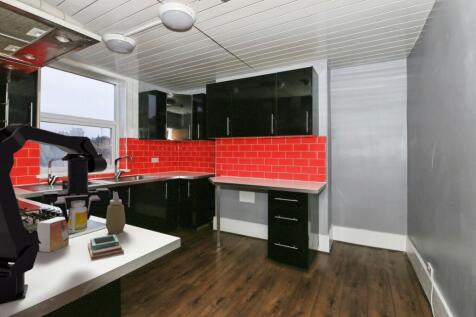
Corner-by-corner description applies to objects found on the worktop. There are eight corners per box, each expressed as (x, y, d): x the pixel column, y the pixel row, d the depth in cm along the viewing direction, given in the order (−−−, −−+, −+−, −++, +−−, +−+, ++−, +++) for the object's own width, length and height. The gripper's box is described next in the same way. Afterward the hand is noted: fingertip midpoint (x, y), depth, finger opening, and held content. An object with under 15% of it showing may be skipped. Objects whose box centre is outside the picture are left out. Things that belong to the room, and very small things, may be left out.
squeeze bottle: (124, 233, 106) (125, 193, 106) (104, 235, 103) (104, 194, 103) (126, 228, 114) (126, 190, 113) (106, 230, 111) (107, 191, 110)
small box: (49, 252, 85) (49, 223, 85) (36, 251, 87) (36, 222, 86) (69, 244, 93) (69, 217, 93) (57, 243, 94) (57, 216, 94)
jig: (123, 253, 87) (123, 244, 87) (91, 259, 81) (91, 251, 81) (116, 240, 98) (116, 233, 98) (87, 246, 92) (87, 238, 92)
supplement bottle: (64, 232, 78) (64, 203, 77) (73, 227, 83) (74, 199, 83) (82, 232, 78) (82, 203, 78) (90, 227, 83) (90, 199, 83)
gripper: (106, 171, 92) (106, 212, 92) (43, 173, 81) (43, 219, 81) (111, 174, 83) (110, 219, 83) (41, 176, 72) (41, 228, 72)
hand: (77, 220), depth 80 cm, fingers closed on supplement bottle, 5 cm apart
